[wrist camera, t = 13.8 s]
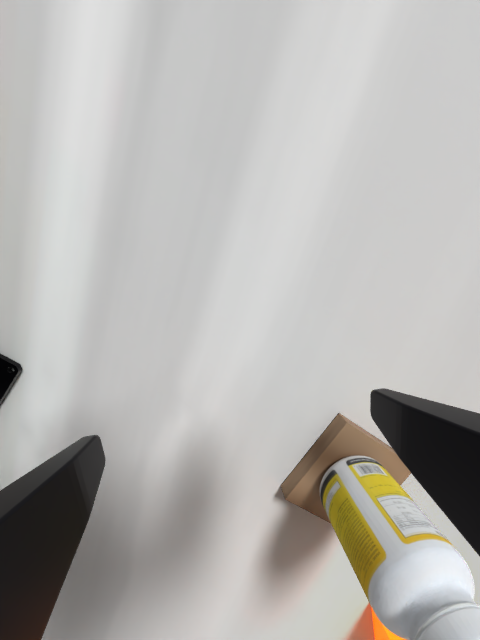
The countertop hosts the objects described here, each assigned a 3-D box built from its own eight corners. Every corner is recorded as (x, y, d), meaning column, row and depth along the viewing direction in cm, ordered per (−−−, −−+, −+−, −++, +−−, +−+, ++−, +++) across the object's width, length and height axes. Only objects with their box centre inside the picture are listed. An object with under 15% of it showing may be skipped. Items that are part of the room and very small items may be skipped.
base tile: (348, 521, 27) (356, 536, 25) (280, 485, 25) (285, 499, 24) (404, 456, 26) (415, 467, 25) (338, 413, 24) (347, 422, 23)
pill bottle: (321, 519, 24) (418, 736, 13) (311, 462, 23) (411, 651, 12) (386, 500, 25) (533, 694, 14) (380, 443, 23) (539, 607, 12)
